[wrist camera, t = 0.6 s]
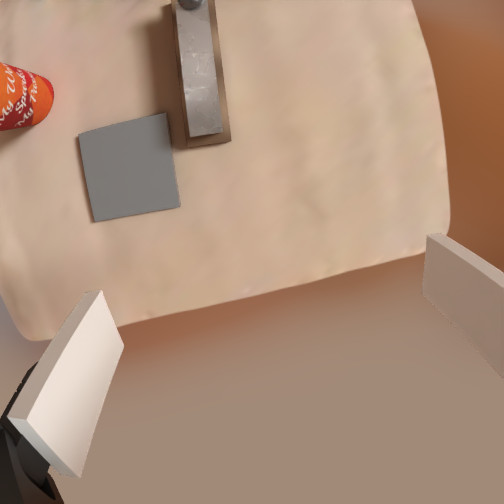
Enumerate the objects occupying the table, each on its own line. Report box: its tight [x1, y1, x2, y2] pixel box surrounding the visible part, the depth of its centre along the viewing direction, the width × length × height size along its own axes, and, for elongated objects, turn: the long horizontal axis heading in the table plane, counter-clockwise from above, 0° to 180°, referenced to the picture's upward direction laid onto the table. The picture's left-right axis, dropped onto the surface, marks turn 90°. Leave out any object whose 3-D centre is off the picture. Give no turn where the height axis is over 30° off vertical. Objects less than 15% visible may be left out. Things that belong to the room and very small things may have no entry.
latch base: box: [171, 0, 231, 147], centre depth 28 cm, size 17×4×1 cm, turn 7°
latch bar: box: [175, 0, 223, 137], centre depth 25 cm, size 15×3×3 cm, turn 7°
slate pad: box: [78, 113, 181, 222], centre depth 31 cm, size 10×10×1 cm
